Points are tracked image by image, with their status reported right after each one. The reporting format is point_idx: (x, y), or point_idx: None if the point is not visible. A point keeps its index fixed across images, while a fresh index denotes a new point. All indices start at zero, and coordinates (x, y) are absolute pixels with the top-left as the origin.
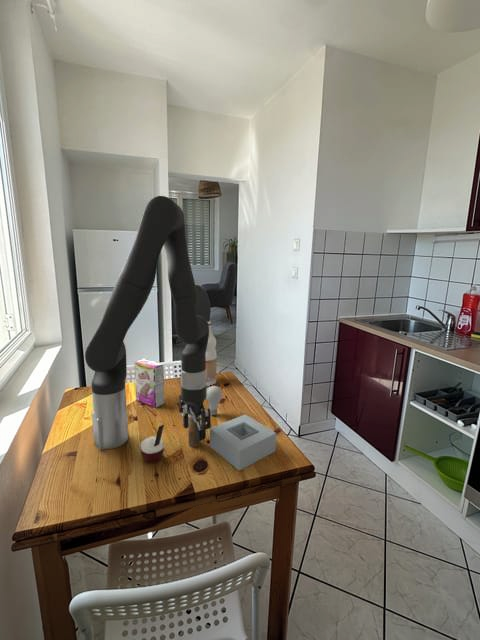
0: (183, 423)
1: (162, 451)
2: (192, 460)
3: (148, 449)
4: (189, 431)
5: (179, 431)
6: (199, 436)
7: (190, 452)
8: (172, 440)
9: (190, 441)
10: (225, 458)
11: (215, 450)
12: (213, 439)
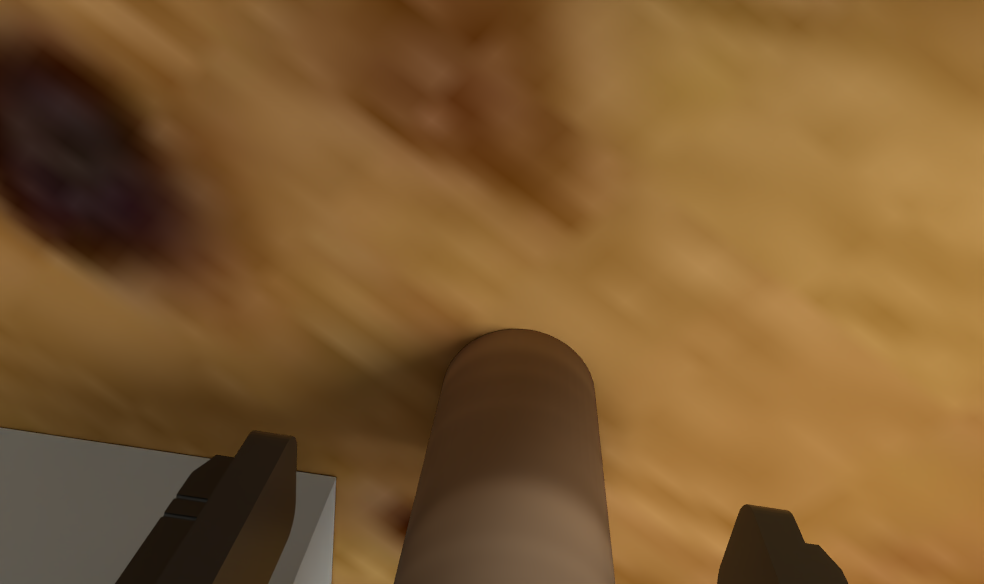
0: (809, 565)
1: None
2: (228, 154)
3: None
4: (518, 476)
5: (917, 448)
6: (224, 481)
7: (398, 248)
8: (837, 252)
9: (503, 371)
10: (6, 437)
11: None
12: None
